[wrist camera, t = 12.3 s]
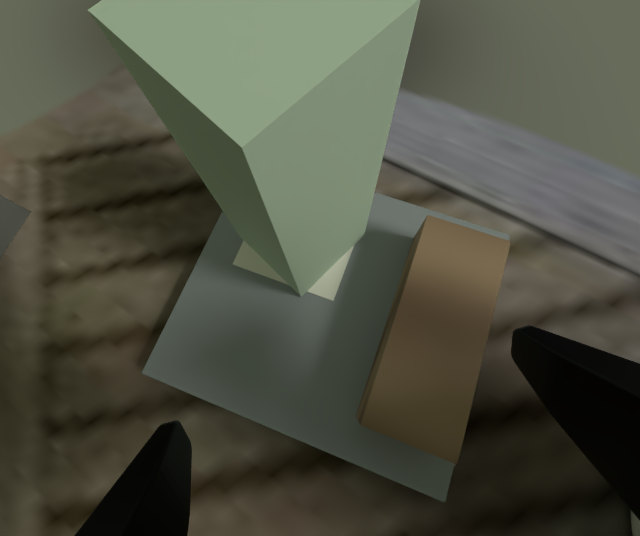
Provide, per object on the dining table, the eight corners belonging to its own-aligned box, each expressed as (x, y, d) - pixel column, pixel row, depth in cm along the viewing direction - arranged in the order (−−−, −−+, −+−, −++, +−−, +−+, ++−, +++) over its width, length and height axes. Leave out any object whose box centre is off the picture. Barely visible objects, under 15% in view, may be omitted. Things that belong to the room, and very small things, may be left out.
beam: (435, 448, 16) (457, 464, 14) (355, 416, 17) (360, 425, 14) (483, 261, 19) (510, 241, 16) (413, 237, 20) (427, 214, 17)
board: (437, 494, 17) (445, 503, 16) (152, 373, 19) (140, 373, 18) (499, 242, 21) (510, 234, 19) (255, 164, 23) (250, 152, 21)
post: (301, 297, 19) (241, 147, 6) (240, 237, 20) (87, 9, 7) (364, 235, 20) (420, -2, 7) (302, 181, 21) (259, -105, 8)
